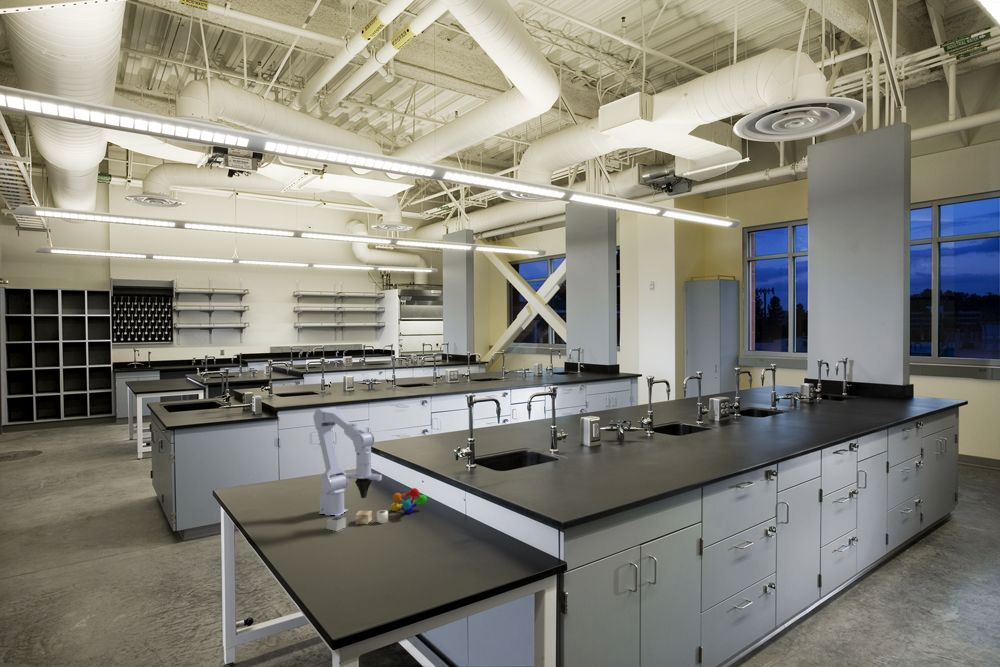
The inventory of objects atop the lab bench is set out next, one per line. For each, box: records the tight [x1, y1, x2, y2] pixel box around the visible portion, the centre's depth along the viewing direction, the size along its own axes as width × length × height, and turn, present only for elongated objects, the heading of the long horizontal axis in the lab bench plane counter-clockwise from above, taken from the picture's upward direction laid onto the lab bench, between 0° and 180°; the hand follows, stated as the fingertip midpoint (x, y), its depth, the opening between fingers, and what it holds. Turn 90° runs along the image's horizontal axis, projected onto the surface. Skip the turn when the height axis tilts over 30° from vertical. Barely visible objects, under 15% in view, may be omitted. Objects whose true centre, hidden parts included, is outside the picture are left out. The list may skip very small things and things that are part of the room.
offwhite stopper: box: [376, 509, 389, 524], centre depth 220 cm, size 4×4×4 cm
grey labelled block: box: [326, 516, 347, 532], centre depth 213 cm, size 5×5×4 cm
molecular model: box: [390, 487, 428, 514], centre depth 233 cm, size 15×10×15 cm
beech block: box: [355, 510, 373, 525], centre depth 220 cm, size 5×5×4 cm
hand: (363, 497), depth 220 cm, fingers closed
